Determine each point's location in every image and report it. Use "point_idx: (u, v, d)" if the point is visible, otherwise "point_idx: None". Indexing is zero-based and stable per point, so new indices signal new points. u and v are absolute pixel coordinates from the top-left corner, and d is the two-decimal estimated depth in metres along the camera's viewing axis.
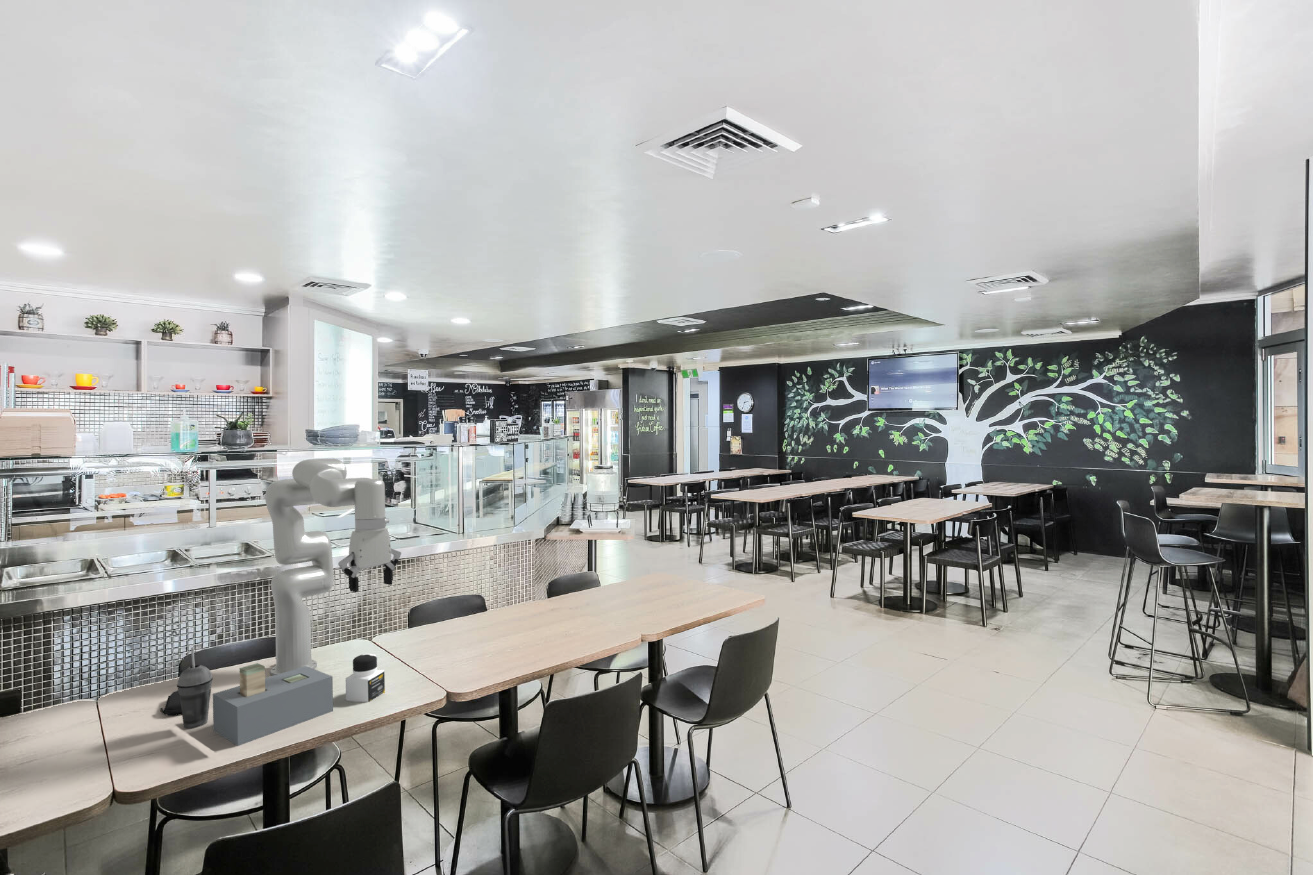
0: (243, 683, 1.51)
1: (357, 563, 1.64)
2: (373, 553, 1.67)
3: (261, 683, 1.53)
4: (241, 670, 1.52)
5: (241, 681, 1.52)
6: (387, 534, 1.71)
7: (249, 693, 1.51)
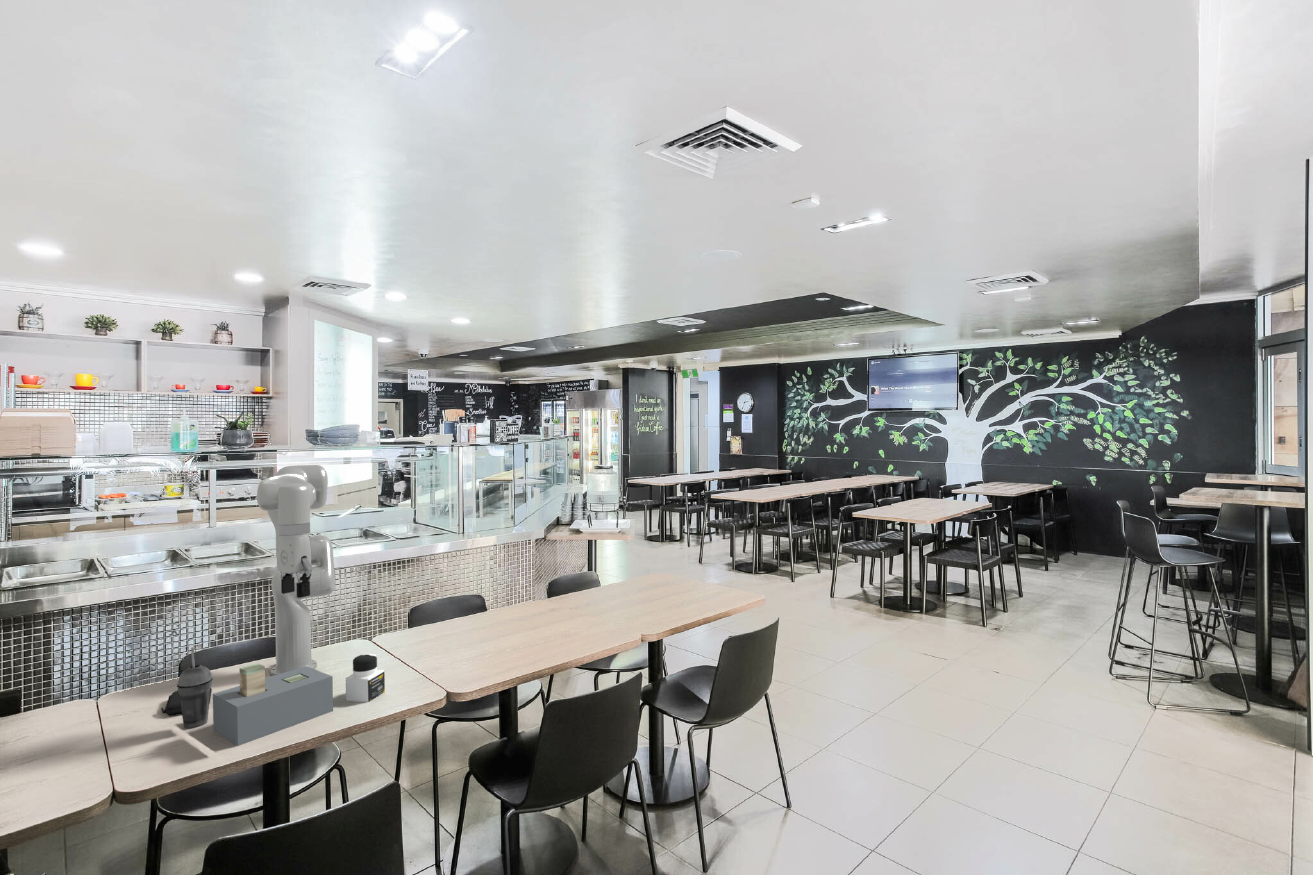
0: (243, 683, 1.51)
1: None
2: None
3: (261, 683, 1.53)
4: (241, 670, 1.52)
5: (241, 681, 1.52)
6: None
7: (249, 693, 1.51)
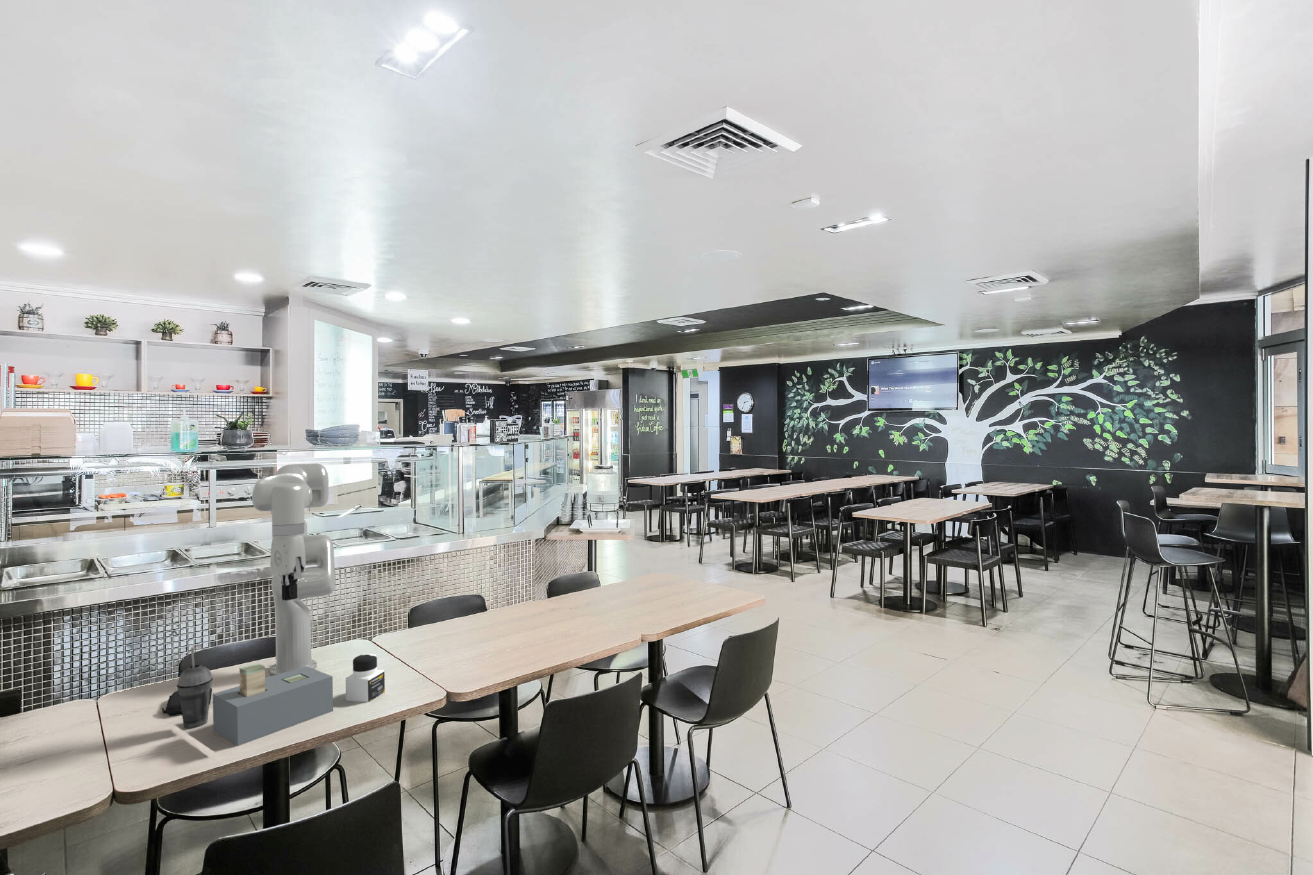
0: (243, 683, 1.51)
1: None
2: None
3: (261, 683, 1.53)
4: (241, 670, 1.52)
5: (241, 681, 1.52)
6: None
7: (249, 693, 1.51)
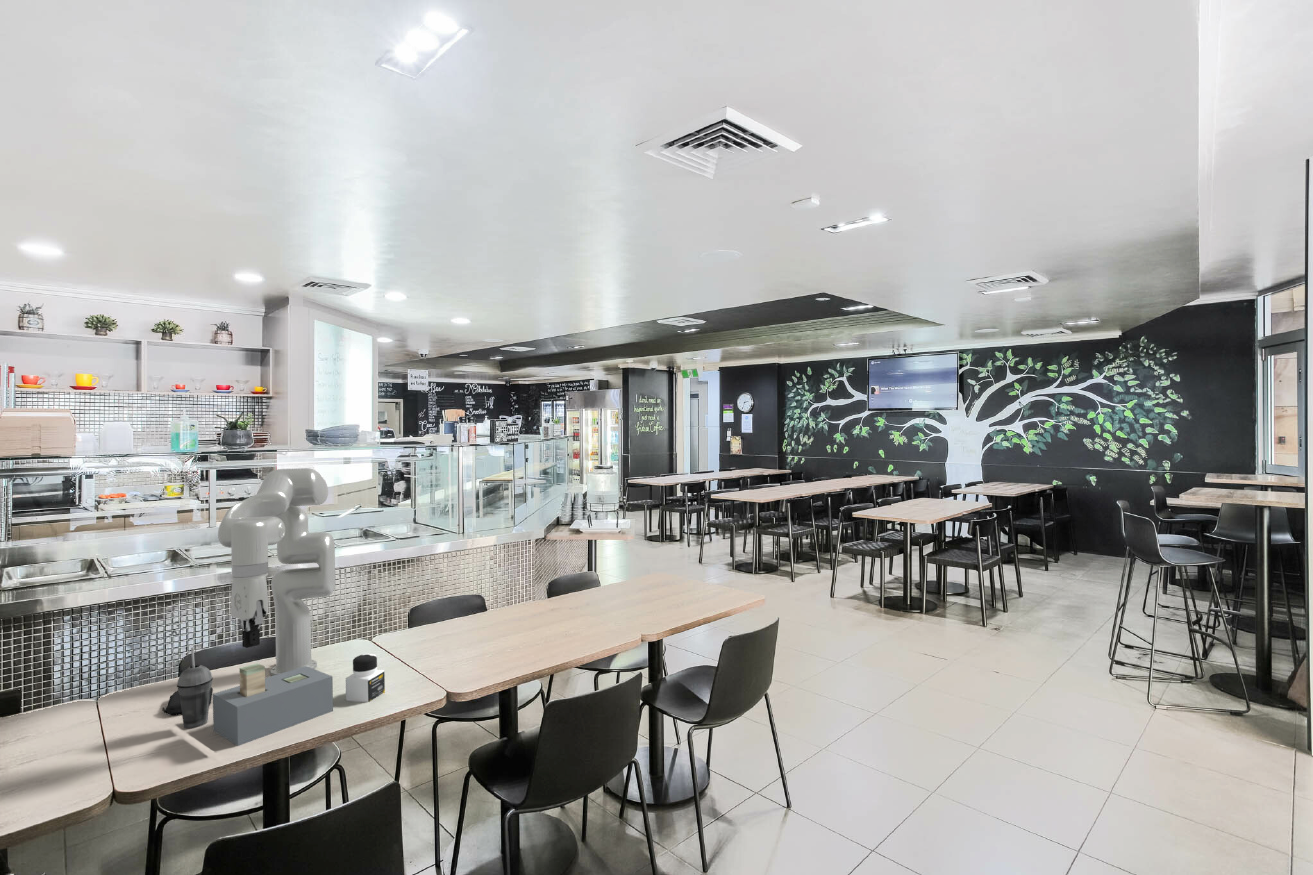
0: (243, 683, 1.51)
1: (267, 610, 1.51)
2: None
3: (261, 683, 1.53)
4: (241, 670, 1.52)
5: (241, 681, 1.52)
6: None
7: (249, 693, 1.51)
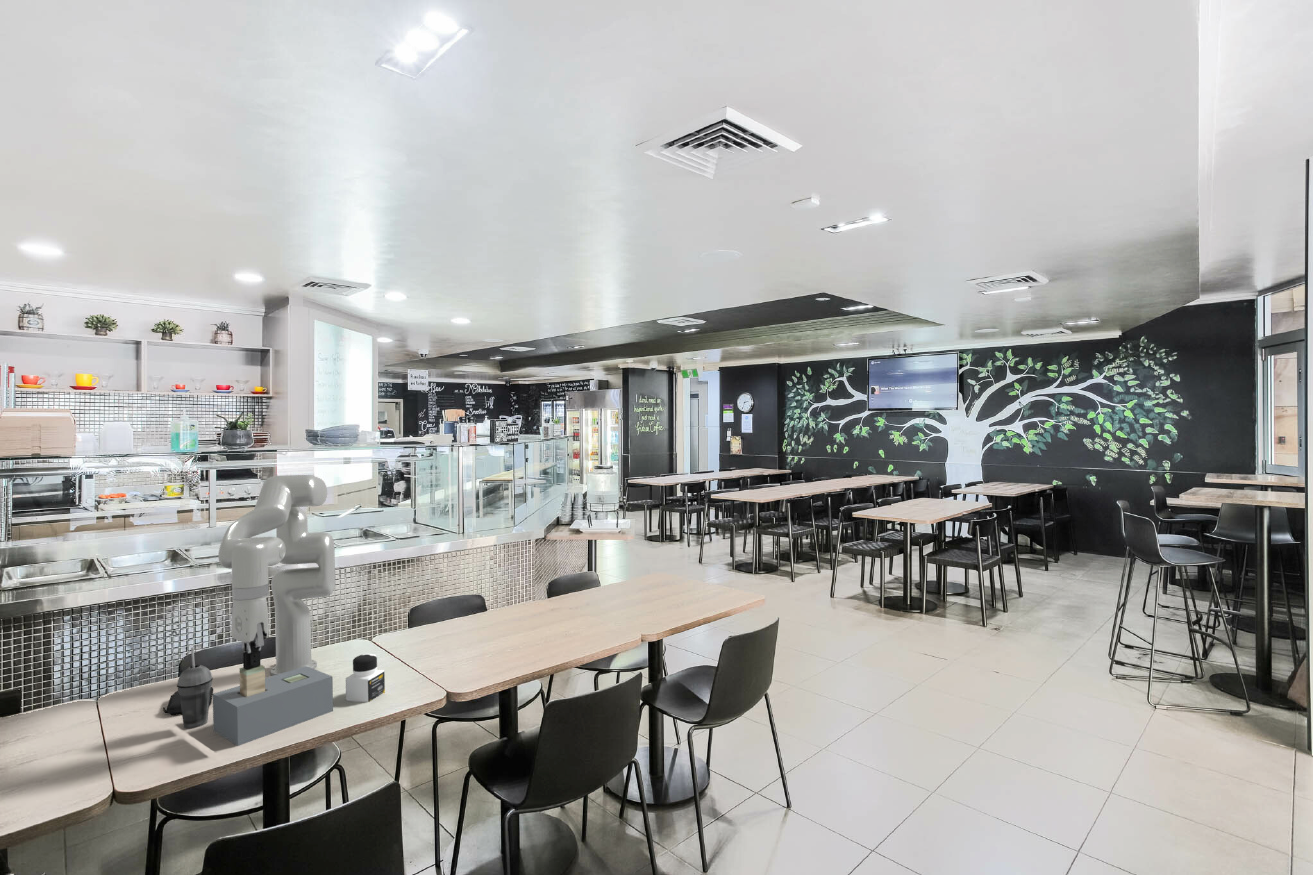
0: (243, 683, 1.51)
1: (268, 632, 1.52)
2: None
3: (261, 683, 1.53)
4: (241, 670, 1.52)
5: (241, 681, 1.52)
6: None
7: (249, 693, 1.51)
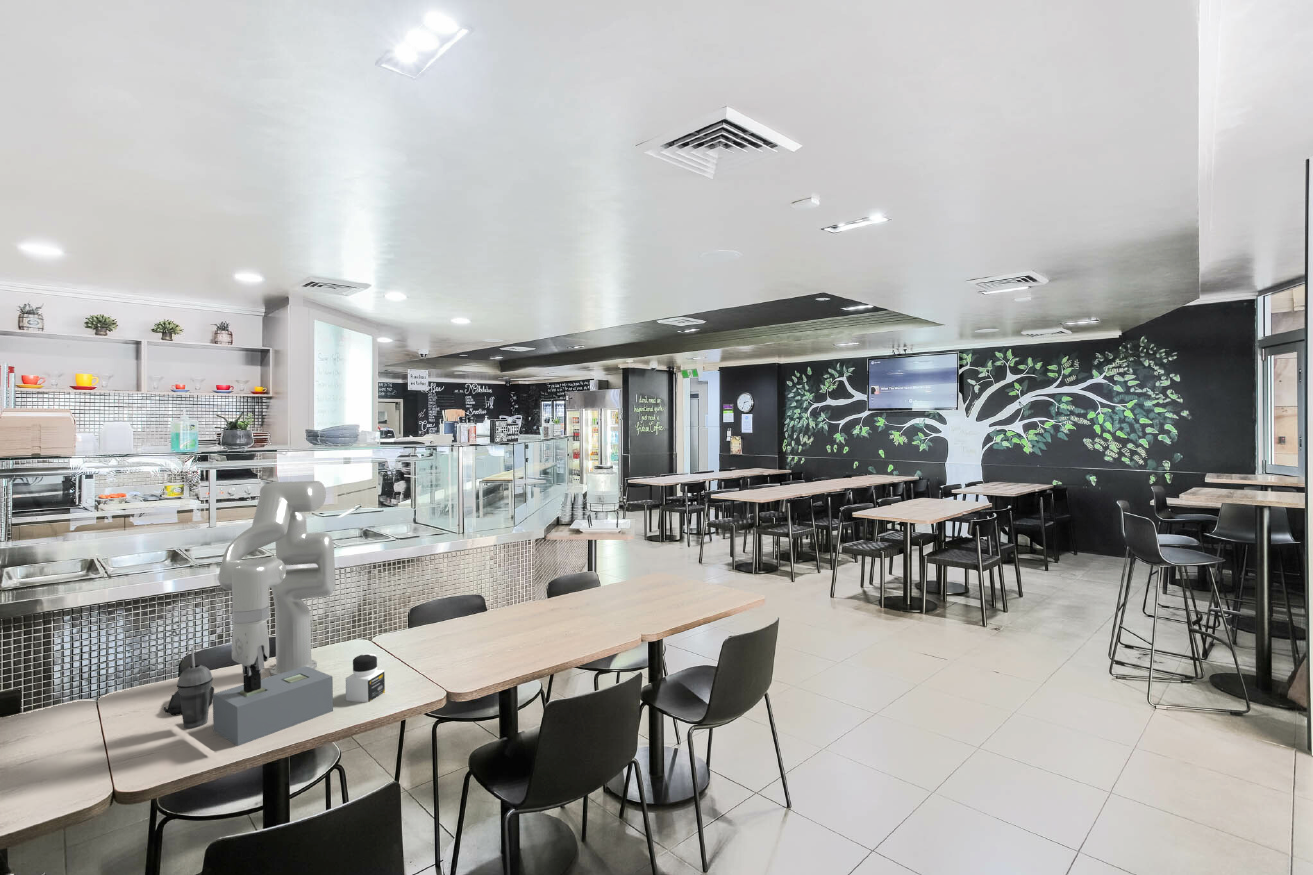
0: None
1: (268, 655, 1.52)
2: None
3: None
4: (241, 693, 1.52)
5: None
6: None
7: None
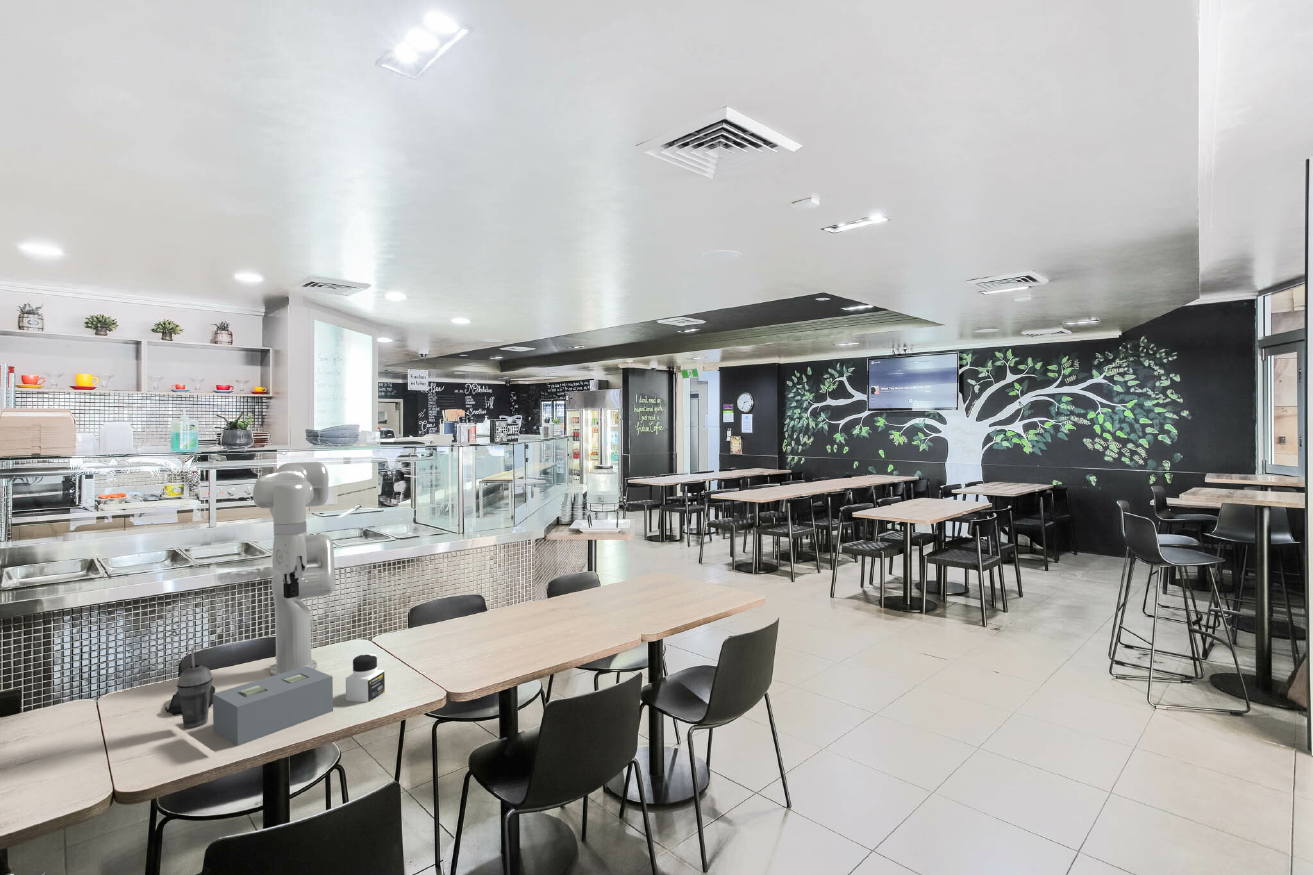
0: None
1: (306, 565, 1.65)
2: None
3: None
4: (241, 693, 1.52)
5: None
6: None
7: None
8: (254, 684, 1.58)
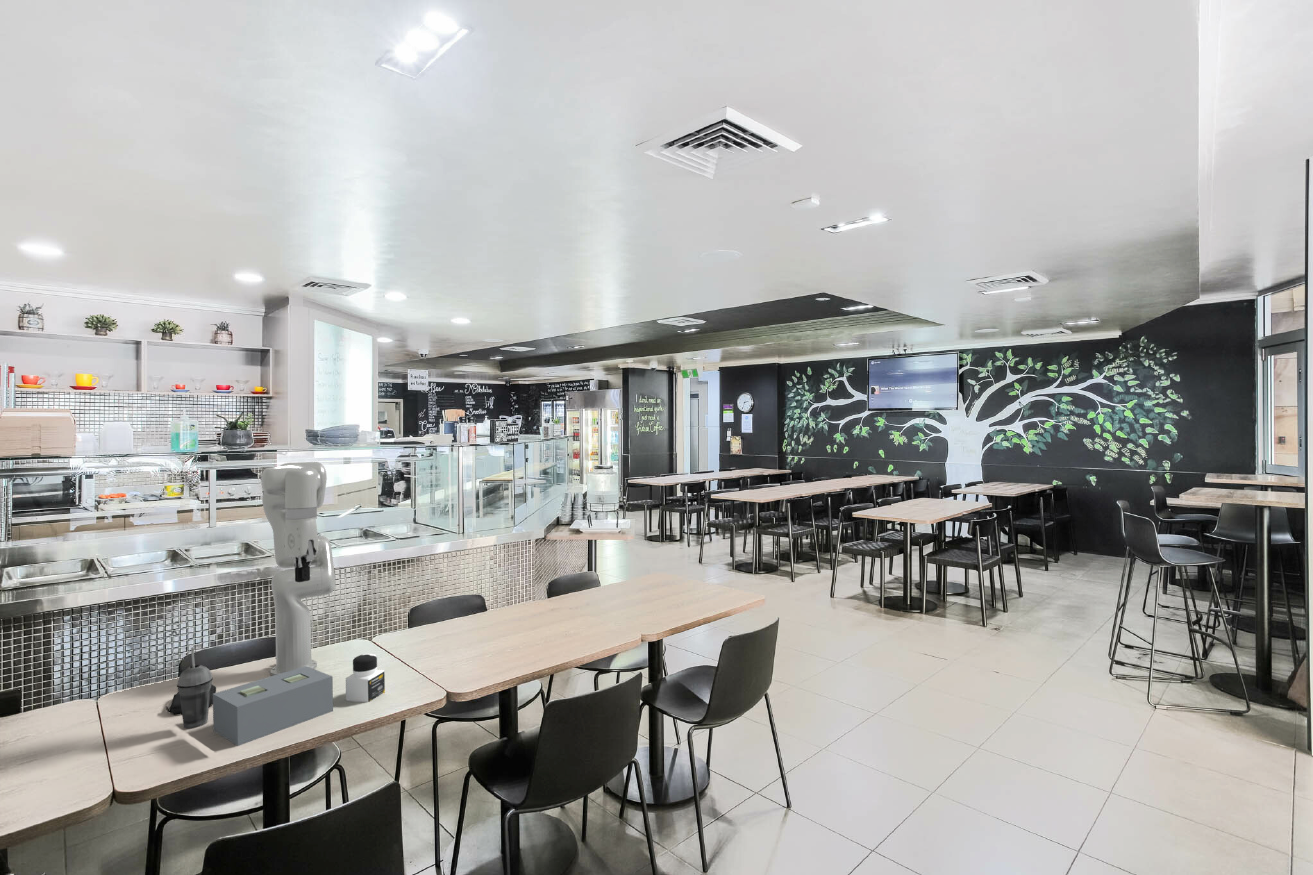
0: None
1: (317, 549, 1.69)
2: None
3: None
4: (241, 693, 1.52)
5: None
6: None
7: None
8: (254, 684, 1.58)
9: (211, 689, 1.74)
